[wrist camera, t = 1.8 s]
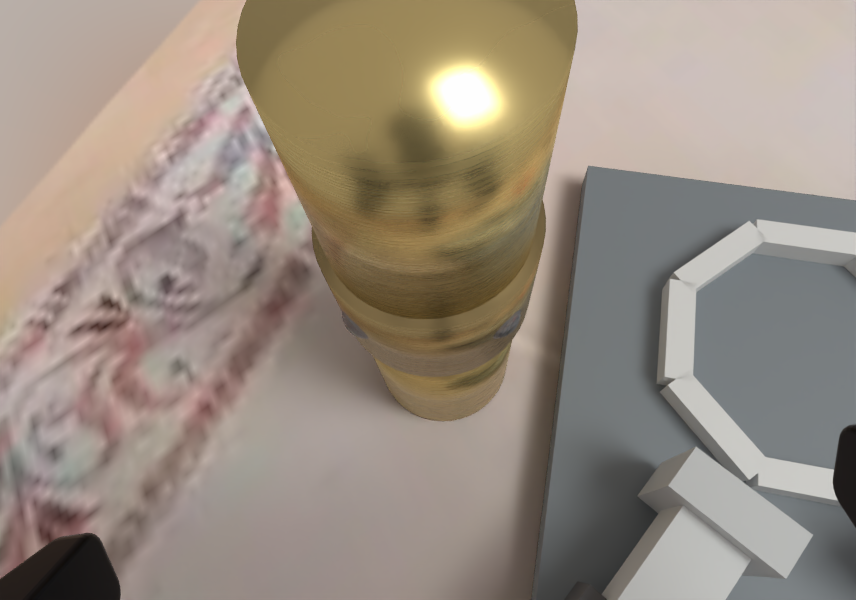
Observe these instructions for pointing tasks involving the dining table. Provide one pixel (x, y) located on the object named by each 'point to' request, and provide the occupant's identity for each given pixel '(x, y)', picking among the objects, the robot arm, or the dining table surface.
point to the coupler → (418, 170)
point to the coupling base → (702, 396)
